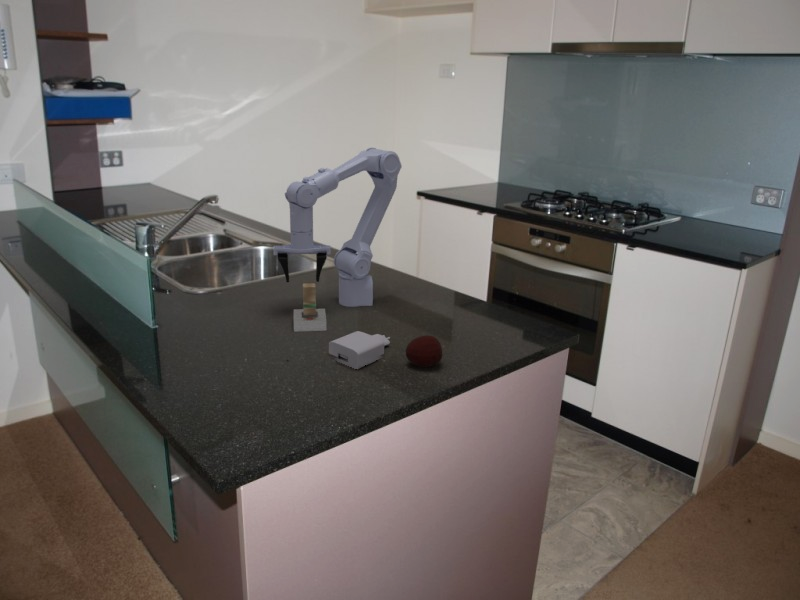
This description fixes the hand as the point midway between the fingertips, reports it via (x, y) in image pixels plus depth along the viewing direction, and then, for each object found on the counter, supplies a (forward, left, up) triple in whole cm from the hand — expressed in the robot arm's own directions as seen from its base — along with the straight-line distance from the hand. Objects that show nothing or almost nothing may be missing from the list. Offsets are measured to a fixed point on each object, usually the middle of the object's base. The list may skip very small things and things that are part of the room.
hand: (302, 280), depth 167 cm
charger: (-14, +25, -11) cm, 30 cm away
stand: (-2, +9, -10) cm, 13 cm away
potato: (-27, +32, -10) cm, 43 cm away
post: (-2, +9, -6) cm, 10 cm away
